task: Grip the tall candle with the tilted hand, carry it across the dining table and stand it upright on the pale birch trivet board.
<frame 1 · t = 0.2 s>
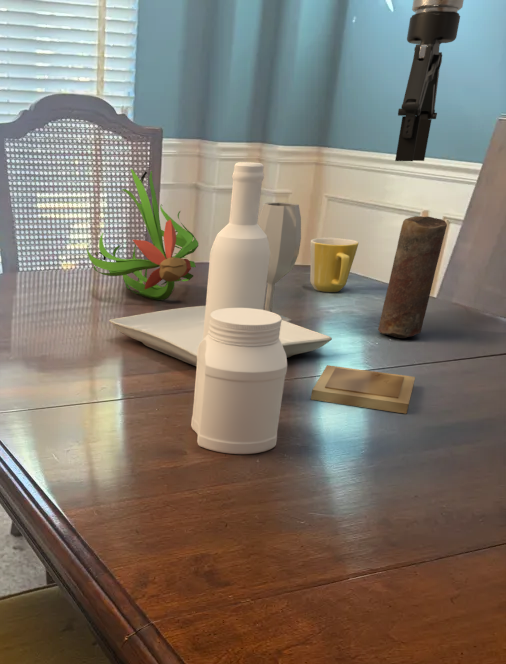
hand: (410, 161, 133), 28 cm above the table, tool pointing down, fingers open, 13 cm apart
decorative plant: (150, 296, 166), on the table
jar: (232, 437, 97), on the table
trivet board: (363, 392, 112), on the table
wineglass: (266, 324, 147), on the table
mug: (327, 292, 173), on the table
square plate: (215, 349, 132), on the table
bottle: (225, 396, 111), on the table
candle: (398, 337, 141), on the table
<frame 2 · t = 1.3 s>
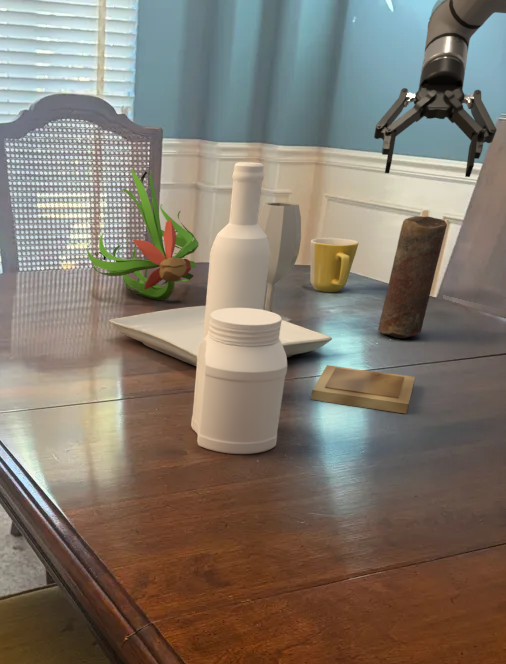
hand: (428, 169, 136), 27 cm above the table, tool tilted 45°, fingers open, 13 cm apart
nothing on the table moved.
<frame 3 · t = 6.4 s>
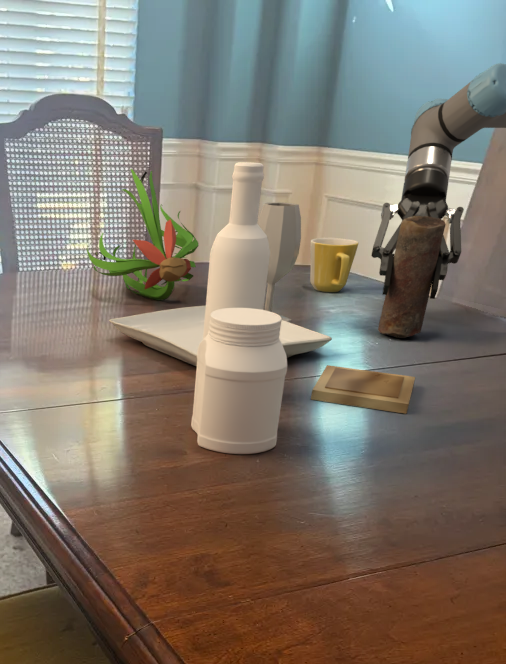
hand: (409, 292, 133), 9 cm above the table, tool tilted 45°, fingers closed on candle, 7 cm apart
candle: (398, 337, 141), on the table, touching gripper
everything else where it was.
when the fingers open (10 cm above the table, at t = 18.3 s): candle stays where it is, resting on trivet board.
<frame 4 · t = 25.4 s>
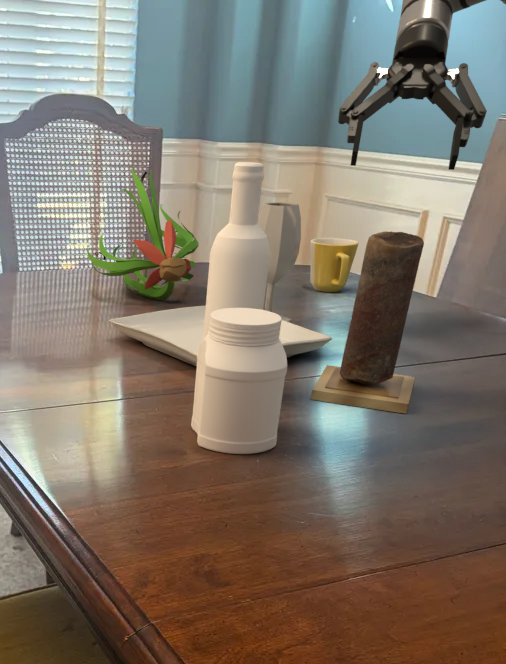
hand: (402, 161, 111), 30 cm above the table, tool tilted 45°, fingers open, 13 cm apart
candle: (365, 382, 112), point 2 cm above the table, touching trivet board
everything else where it was.
at the end: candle inside the target area on the trivet board (0.1 cm from its centre), point 1.5 cm above the trivet board's base; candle tilted 0°; the gripper is holding nothing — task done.
